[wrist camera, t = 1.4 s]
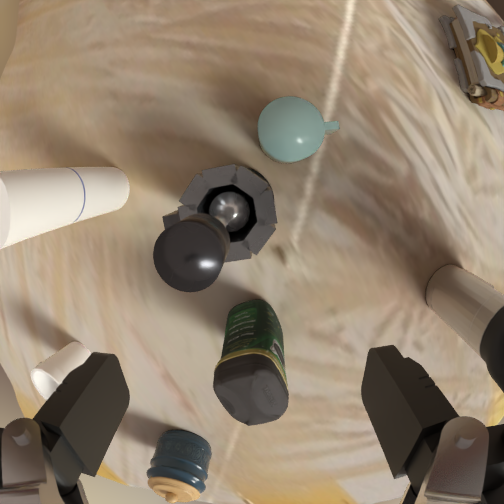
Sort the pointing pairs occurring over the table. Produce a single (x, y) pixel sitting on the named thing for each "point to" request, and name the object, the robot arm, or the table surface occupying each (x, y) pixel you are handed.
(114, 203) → the cylindrical container
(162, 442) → the canister
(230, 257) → the faceted grey mug
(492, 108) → the decorative book
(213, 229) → the plunger
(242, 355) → the coffee jar
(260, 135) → the teal mug
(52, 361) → the foam cup
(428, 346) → the table surface
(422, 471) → the robot arm
